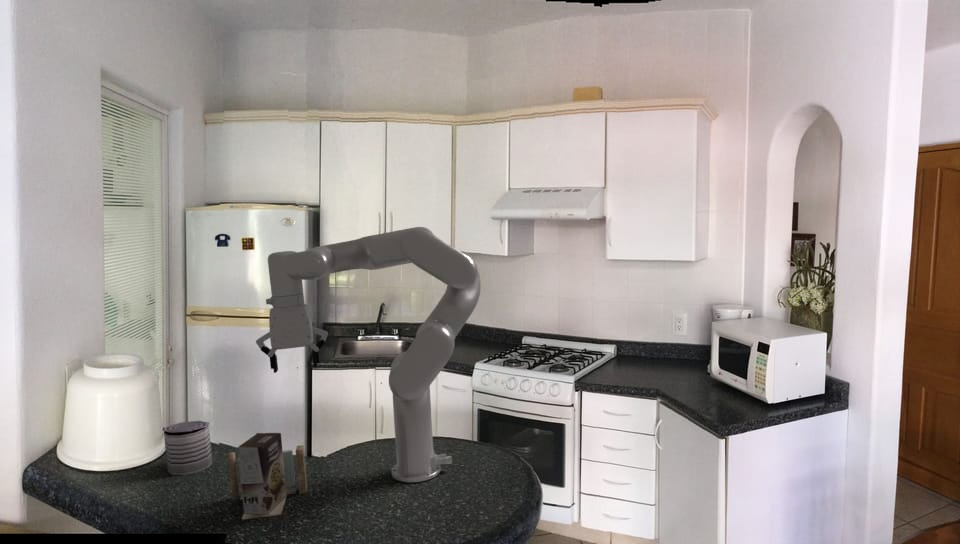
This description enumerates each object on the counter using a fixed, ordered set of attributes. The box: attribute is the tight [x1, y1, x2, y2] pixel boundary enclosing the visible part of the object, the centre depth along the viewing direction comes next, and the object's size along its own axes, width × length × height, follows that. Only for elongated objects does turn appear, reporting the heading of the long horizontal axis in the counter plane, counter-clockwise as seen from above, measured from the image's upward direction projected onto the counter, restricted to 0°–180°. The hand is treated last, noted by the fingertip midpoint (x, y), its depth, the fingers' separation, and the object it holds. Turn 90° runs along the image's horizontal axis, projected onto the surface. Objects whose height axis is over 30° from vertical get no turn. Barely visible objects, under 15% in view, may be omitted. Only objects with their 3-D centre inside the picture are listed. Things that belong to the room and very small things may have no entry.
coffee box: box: [237, 432, 287, 515], centre depth 149 cm, size 9×6×16 cm
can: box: [161, 420, 213, 476], centre depth 176 cm, size 11×11×12 cm
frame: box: [227, 444, 308, 501], centre depth 156 cm, size 18×3×11 cm, turn 99°
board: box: [241, 494, 288, 521], centre depth 150 cm, size 8×10×1 cm
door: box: [237, 449, 296, 492], centre depth 157 cm, size 12×1×9 cm, turn 105°
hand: (296, 368), depth 160 cm, fingers open, 9 cm apart
